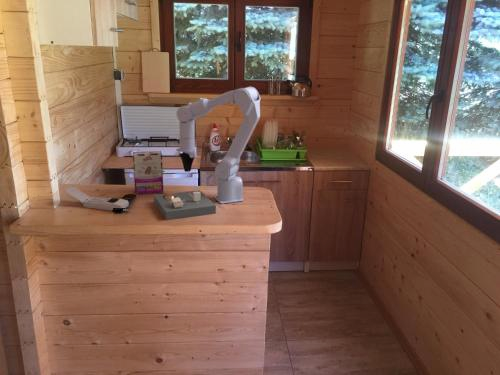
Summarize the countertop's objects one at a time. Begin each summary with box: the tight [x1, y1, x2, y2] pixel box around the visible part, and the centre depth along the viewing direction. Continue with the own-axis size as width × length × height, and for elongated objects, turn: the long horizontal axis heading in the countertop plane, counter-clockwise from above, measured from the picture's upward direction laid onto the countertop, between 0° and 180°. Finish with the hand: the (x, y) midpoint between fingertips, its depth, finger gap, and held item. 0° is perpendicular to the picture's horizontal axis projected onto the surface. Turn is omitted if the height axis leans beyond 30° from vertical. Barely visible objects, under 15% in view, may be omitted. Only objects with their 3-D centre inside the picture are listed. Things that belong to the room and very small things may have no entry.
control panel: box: [153, 189, 217, 221], centre depth 153 cm, size 18×18×5 cm
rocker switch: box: [171, 197, 183, 208], centre depth 147 cm, size 3×5×1 cm, turn 25°
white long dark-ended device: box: [63, 185, 129, 212], centre depth 152 cm, size 6×6×25 cm
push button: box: [165, 193, 175, 200], centre depth 156 cm, size 4×4×3 cm
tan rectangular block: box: [193, 191, 201, 201], centre depth 152 cm, size 2×2×3 cm
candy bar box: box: [132, 150, 164, 195], centre depth 167 cm, size 11×5×16 cm, turn 106°
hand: (187, 171), depth 166 cm, fingers closed
